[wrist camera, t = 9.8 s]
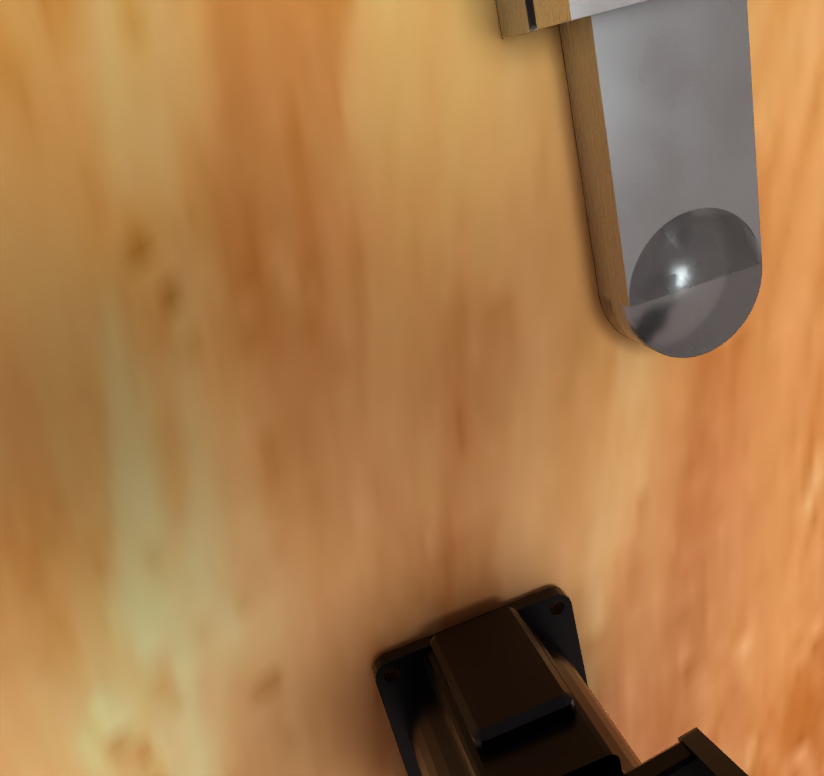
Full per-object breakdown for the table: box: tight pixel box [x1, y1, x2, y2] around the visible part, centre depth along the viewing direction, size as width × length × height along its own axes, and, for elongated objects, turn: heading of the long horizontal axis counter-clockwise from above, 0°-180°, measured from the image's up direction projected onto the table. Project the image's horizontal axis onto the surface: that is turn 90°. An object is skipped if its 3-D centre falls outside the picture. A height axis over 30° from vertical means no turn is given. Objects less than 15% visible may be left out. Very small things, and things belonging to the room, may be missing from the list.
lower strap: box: [496, 0, 762, 358], centre depth 18 cm, size 16×7×2 cm, turn 14°
